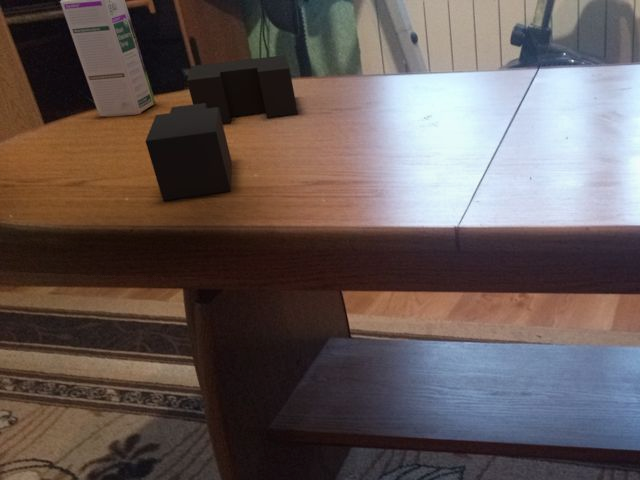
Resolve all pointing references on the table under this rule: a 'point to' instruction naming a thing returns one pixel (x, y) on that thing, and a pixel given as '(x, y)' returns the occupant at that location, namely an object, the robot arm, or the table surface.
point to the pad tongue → (190, 152)
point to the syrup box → (109, 55)
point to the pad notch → (244, 87)
